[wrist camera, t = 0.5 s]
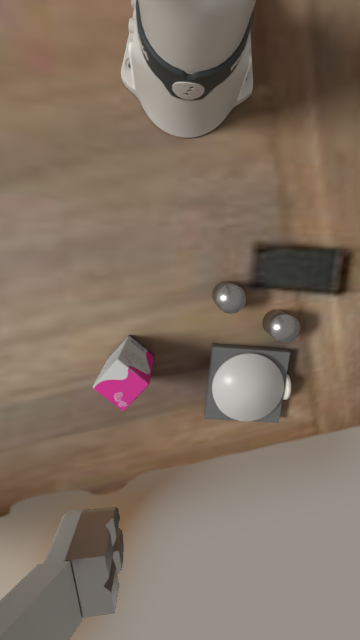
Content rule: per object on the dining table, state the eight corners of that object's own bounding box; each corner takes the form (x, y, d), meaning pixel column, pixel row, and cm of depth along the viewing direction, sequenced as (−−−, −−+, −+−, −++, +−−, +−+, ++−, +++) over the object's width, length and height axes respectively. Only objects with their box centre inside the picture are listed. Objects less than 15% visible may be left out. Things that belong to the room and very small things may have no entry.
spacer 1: (213, 280, 51) (218, 283, 46) (240, 282, 51) (247, 285, 46) (211, 306, 52) (215, 312, 47) (237, 308, 52) (244, 314, 47)
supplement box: (107, 358, 53) (90, 387, 42) (129, 334, 53) (118, 356, 41) (132, 380, 54) (123, 413, 43) (155, 355, 54) (151, 383, 42)
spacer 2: (264, 308, 52) (274, 314, 47) (290, 310, 53) (302, 316, 48) (260, 333, 53) (270, 342, 48) (286, 335, 53) (297, 343, 49)
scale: (210, 341, 54) (214, 349, 50) (288, 347, 55) (298, 355, 51) (203, 410, 57) (206, 422, 53) (277, 414, 58) (285, 427, 53)
